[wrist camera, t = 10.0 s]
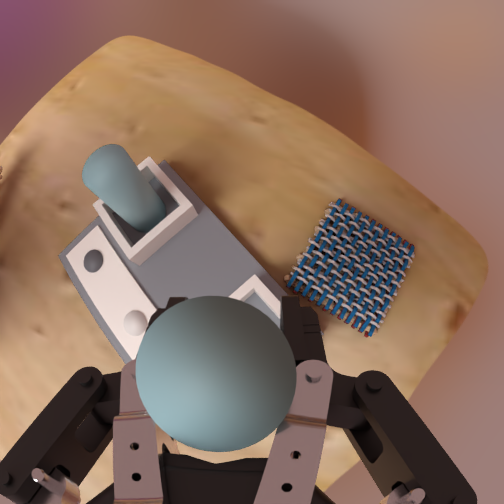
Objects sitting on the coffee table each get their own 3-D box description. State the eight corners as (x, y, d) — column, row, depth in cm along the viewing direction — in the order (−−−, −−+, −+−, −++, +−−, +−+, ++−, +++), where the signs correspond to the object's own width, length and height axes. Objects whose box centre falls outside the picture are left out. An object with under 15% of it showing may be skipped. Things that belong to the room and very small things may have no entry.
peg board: (193, 439, 26) (157, 487, 15) (62, 257, 31) (-2, 227, 21) (321, 333, 28) (353, 333, 17) (166, 164, 33) (132, 101, 23)
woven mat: (414, 250, 30) (422, 245, 28) (369, 340, 28) (376, 341, 26) (332, 198, 32) (335, 190, 30) (278, 285, 30) (279, 281, 28)
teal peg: (238, 402, 16) (207, 477, 6) (191, 348, 17) (107, 360, 7) (293, 356, 17) (330, 383, 7) (245, 302, 18) (221, 262, 8)
